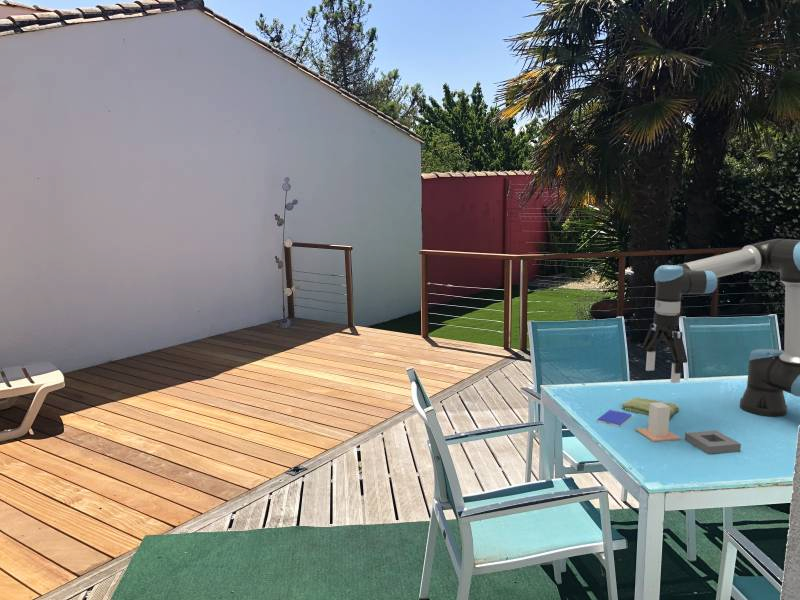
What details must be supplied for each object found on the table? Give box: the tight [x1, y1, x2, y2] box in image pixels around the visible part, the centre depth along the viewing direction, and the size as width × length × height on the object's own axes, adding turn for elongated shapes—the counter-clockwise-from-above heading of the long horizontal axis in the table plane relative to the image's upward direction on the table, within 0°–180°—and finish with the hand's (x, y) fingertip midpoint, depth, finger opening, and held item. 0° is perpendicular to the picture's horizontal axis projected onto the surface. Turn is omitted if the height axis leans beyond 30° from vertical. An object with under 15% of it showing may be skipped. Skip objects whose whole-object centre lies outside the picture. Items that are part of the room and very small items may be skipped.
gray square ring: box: [684, 429, 742, 455], centre depth 192 cm, size 11×11×2 cm
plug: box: [647, 401, 670, 436], centre depth 199 cm, size 4×4×10 cm
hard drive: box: [596, 409, 632, 428], centre depth 215 cm, size 2×8×12 cm
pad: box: [635, 427, 681, 443], centre depth 200 cm, size 10×10×1 cm
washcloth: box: [621, 397, 680, 419], centre depth 223 cm, size 13×18×3 cm
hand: (662, 376), depth 197 cm, fingers open, 13 cm apart
